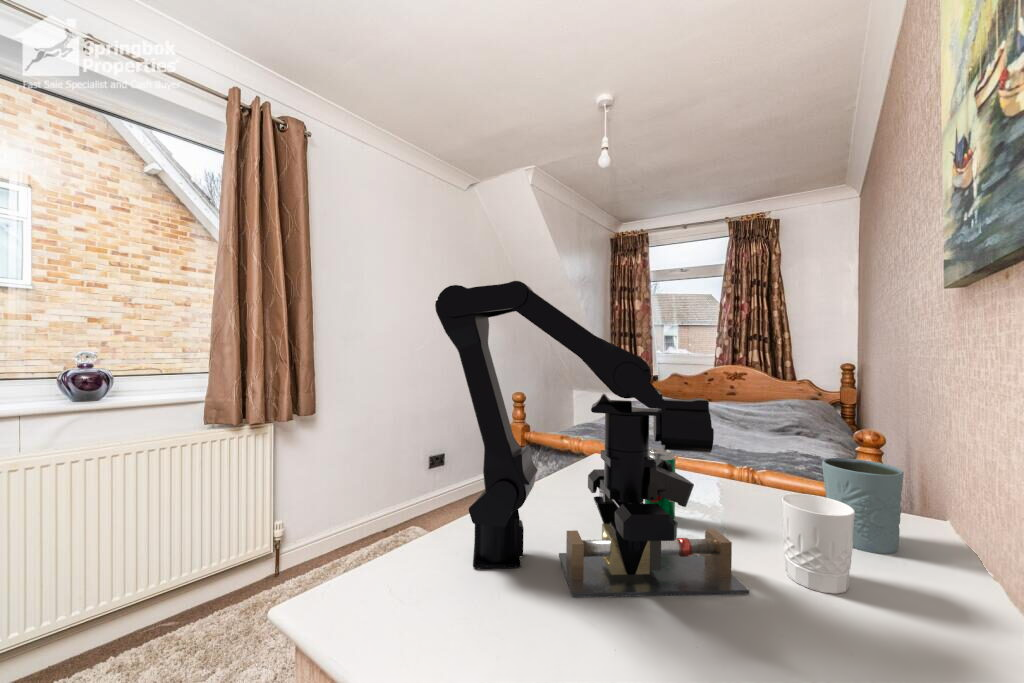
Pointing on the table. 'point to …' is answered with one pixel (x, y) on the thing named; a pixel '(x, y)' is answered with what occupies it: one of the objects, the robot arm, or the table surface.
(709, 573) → the pipe rig
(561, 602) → the table surface
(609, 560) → the sleeve
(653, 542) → the dark grey square collar
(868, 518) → the drinking glass
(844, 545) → the white cup
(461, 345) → the robot arm
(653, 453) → the soda can
